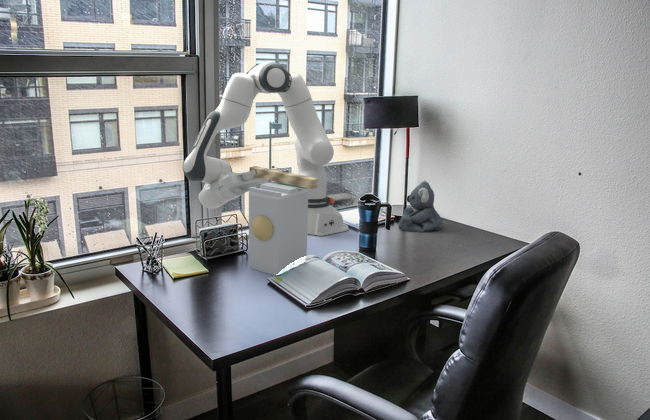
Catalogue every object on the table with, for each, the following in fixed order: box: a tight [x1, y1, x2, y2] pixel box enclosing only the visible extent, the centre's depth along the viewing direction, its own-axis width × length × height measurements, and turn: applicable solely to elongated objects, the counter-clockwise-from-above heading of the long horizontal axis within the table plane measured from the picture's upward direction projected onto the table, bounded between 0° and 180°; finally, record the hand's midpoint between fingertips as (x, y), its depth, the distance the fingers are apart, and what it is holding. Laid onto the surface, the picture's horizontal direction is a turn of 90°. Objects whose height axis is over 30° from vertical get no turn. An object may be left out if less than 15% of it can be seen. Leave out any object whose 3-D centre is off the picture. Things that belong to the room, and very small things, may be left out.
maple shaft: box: [249, 165, 318, 189], centre depth 179 cm, size 26×3×3 cm, turn 58°
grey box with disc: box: [248, 182, 308, 276], centre depth 178 cm, size 12×17×27 cm
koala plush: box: [397, 180, 444, 233], centre depth 227 cm, size 17×18×20 cm
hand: (259, 170), depth 184 cm, fingers closed on maple shaft, 3 cm apart
